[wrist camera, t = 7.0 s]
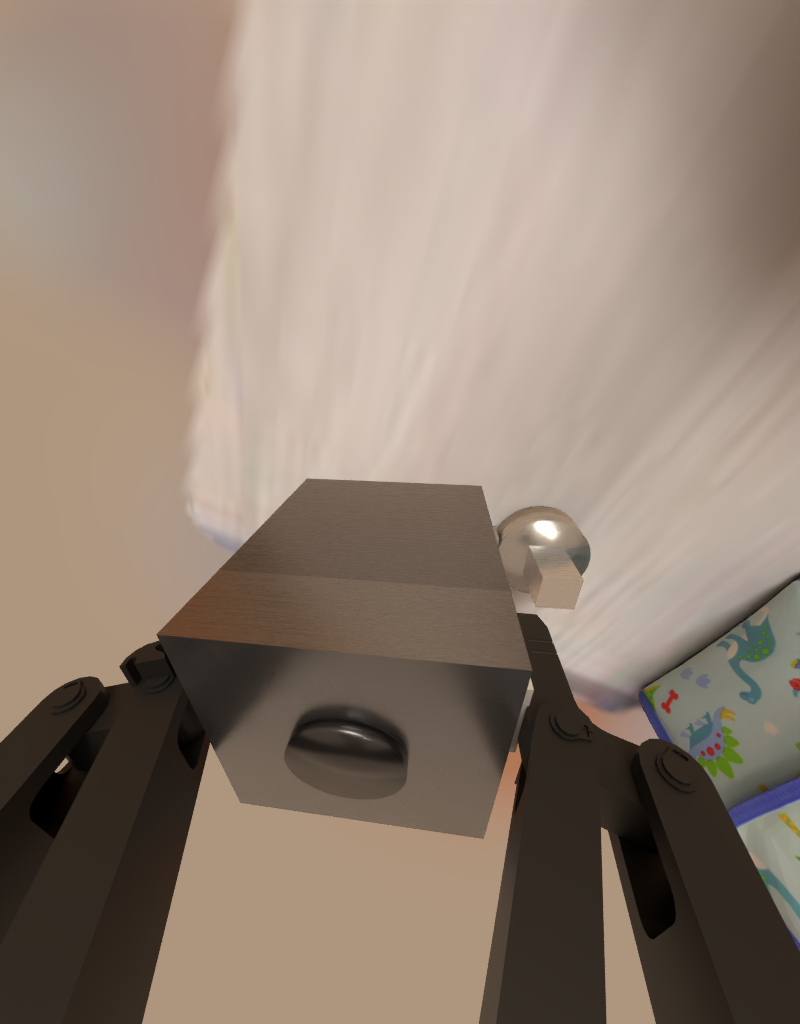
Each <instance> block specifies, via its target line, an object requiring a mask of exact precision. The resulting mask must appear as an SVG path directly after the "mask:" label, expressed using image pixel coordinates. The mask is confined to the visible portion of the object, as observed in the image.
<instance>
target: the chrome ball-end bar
mask: <svg viewBox="0 0 800 1024" xmlns="http://www.w3.org/2000/svg"><path fill="white" fill-rule="evenodd" d="M493 530H494V533H495V537H496V541H497V544H498V548H499V551H500V555H501V559H502V562H503V566H504V570H505V573H506V577H507V580H508V584H509V585H510V586H512V587H513V588H515V589H517V590H519V591H522V592H526V593H531V596H532V598H533V601H534V604H535V607H547V608H560V609H574V608H575V605H576V602H577V599H578V596H579V593H580V590H581V587H582V584H583V581H584V580H583V578H582V577H581V576H582V574H583V573H584V572H585V570H586V568H587V566H588V564H589V561H590V547H589V544H588V542H587V540H586V538H585V537H584V536H583V534H582V533H581V532H580V530H579V529H578V528H577V526H576V525H575V523H574V522H573V521H572V519H571V518H570V517H569V516H568V515H566V514H565V513H564V512H562V511H560V510H557V509H555V508H551V507H544V506H536V507H529V508H525V509H522V510H519V511H517V512H515V513H513V514H512V515H510V516H509V517H507V518H506V519H505V520H504V521H503V522H502V523H501V524H500V526H499V527H498V529H497V530H496V527H495V526H493Z"/></svg>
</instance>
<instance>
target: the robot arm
mask: <svg viewBox="0 0 800 1024" xmlns="http://www.w3.org/2000/svg"><path fill="white" fill-rule="evenodd" d="M517 617H518V620H519V624H520V627H521V631H522V635H523V638H524V642H525V646H526V649H527V653H528V656H529V660H530V664H531V667H532V674H531V678H530V681H529V684H528V688H527V691H526V695H525V698H524V702H523V705H522V708H521V712H520V715H519V719H518V722H517V726H516V729H515V732H514V736H513V739H512V743H511V746H510V750H509V752H515V751H516V747H517V744H518V743H519V748H520V754H521V759H522V762H521V765H520V768H519V771H518V774H517V777H516V780H515V784H517V787H516V793H515V799H514V805H513V812H512V818H511V824H510V831H509V837H508V843H507V850H506V856H505V862H504V869H503V875H502V881H501V888H500V894H499V900H498V907H497V913H496V919H495V926H494V932H493V939H492V944H491V951H490V958H489V963H488V970H487V976H486V983H485V989H484V996H483V1002H482V1008H481V1014H480V1020H479V1024H606V995H605V994H606V993H605V958H604V928H603V927H604V924H603V889H602V855H601V827H602V828H604V829H607V830H608V832H609V836H610V840H611V844H612V848H613V852H614V856H615V860H616V864H617V868H618V872H619V876H620V880H621V884H622V889H623V892H624V897H625V900H626V904H627V908H628V913H629V917H630V920H631V925H632V929H633V933H634V937H635V941H636V945H637V949H638V953H639V957H640V961H641V965H642V969H643V973H644V977H645V981H646V985H647V989H648V993H649V997H650V1001H651V1005H652V1009H653V1013H654V1017H655V1021H656V1024H800V951H799V949H798V947H797V945H796V943H795V942H794V940H793V938H792V936H791V934H790V932H789V930H788V928H787V926H786V924H785V922H784V920H783V918H782V916H781V914H780V912H779V910H778V908H777V906H776V905H775V903H774V901H773V899H772V897H771V895H770V893H769V891H768V889H767V887H766V885H765V883H764V881H763V879H762V877H761V875H760V873H759V871H758V869H757V867H756V866H755V864H754V862H753V860H752V858H751V856H750V854H749V852H748V850H747V848H746V846H745V844H744V842H743V840H742V838H741V836H740V834H739V832H738V830H737V829H736V827H735V825H734V823H733V821H732V819H731V817H730V815H729V813H728V811H727V809H726V807H725V805H724V803H723V801H722V799H721V797H720V795H719V793H718V791H717V790H716V788H715V786H714V784H713V782H712V780H711V779H710V777H709V776H708V774H707V773H706V771H705V770H704V768H703V767H702V766H701V765H700V764H699V763H698V762H697V761H696V760H695V759H694V758H693V757H692V756H691V755H690V754H689V753H687V752H686V751H684V750H683V749H681V748H680V747H678V746H677V745H675V744H673V743H670V742H667V741H665V740H662V739H649V740H647V741H645V742H643V743H642V744H641V745H640V746H638V745H636V744H633V743H631V742H628V741H626V740H624V739H621V738H619V737H616V736H614V735H611V734H609V733H607V732H605V731H603V730H602V729H600V728H599V727H597V726H596V725H594V724H593V723H592V722H591V721H590V719H589V717H588V716H586V715H585V714H584V713H583V712H582V711H581V710H580V709H579V708H578V706H577V704H576V702H575V700H574V698H573V695H572V692H571V689H570V687H569V684H568V681H567V679H566V676H565V673H564V671H563V668H562V665H561V663H560V660H559V657H558V655H557V652H556V649H555V646H554V644H553V643H552V638H551V636H550V633H549V630H548V628H547V626H546V625H545V624H544V623H543V621H542V620H541V619H540V618H539V617H538V616H537V615H535V614H523V613H517ZM120 669H121V670H122V672H123V673H124V675H125V677H126V678H127V680H128V682H129V683H124V684H119V685H114V686H109V687H104V686H103V684H102V683H101V682H100V680H99V679H98V678H95V677H90V676H89V677H83V678H78V679H76V680H73V681H71V682H68V683H66V684H64V685H63V686H61V687H59V688H58V689H56V690H54V691H53V692H52V693H51V694H49V695H48V696H47V697H46V698H45V699H43V700H42V701H41V702H40V703H39V705H37V706H36V707H35V708H34V709H33V710H32V712H30V713H29V714H28V715H27V717H25V719H24V720H23V721H22V722H21V723H20V724H19V725H18V726H17V727H16V728H15V729H14V730H13V731H12V732H11V733H10V734H9V735H8V736H7V737H6V738H5V739H4V740H3V741H2V742H1V743H0V1024H142V1021H143V1017H144V1012H145V1008H146V1004H147V1000H148V996H149V991H150V988H151V983H152V980H153V976H154V971H155V967H156V963H157V959H158V955H159V951H160V946H161V943H162V938H163V934H164V930H165V926H166V922H167V918H168V913H169V910H170V905H171V901H172V897H173V893H174V889H175V885H176V881H177V876H178V872H179V868H180V864H181V860H182V856H183V852H184V848H185V844H186V839H187V835H188V831H189V827H190V823H191V819H192V815H193V811H194V806H195V802H196V798H197V794H198V790H199V785H200V782H201V777H202V774H203V769H204V765H205V761H206V757H207V752H208V749H209V745H210V741H209V739H208V737H207V735H206V733H205V731H204V729H203V727H202V725H201V723H200V721H199V719H198V717H197V715H196V713H195V711H194V709H193V707H192V705H191V703H190V701H189V699H188V697H187V695H186V693H185V691H184V689H183V687H182V685H181V683H180V681H179V679H178V677H177V675H176V673H175V671H174V669H173V667H172V665H171V663H170V661H169V659H168V657H167V655H166V653H165V651H164V649H163V647H162V645H161V643H160V641H157V642H154V643H150V644H147V645H145V646H143V647H142V648H139V649H138V650H136V651H135V652H133V653H132V654H131V655H129V656H128V657H127V658H126V659H125V660H124V662H123V663H122V664H121V665H120ZM65 758H66V759H67V760H68V761H69V762H68V763H67V764H66V765H65V767H63V768H62V769H61V770H60V771H59V772H57V773H55V772H54V771H55V770H56V769H57V768H58V766H59V765H60V764H61V763H62V761H63V760H64V759H65Z"/></svg>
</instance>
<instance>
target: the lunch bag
mask: <svg viewBox="0 0 800 1024" xmlns="http://www.w3.org/2000/svg"><path fill="white" fill-rule="evenodd" d="M639 701H640V703H641V705H642V708H643V710H644V712H645V713H646V715H647V717H648V719H649V721H650V723H651V724H652V727H653V728H654V730H655V732H656V734H657V736H658V738H659V739H662V740H665V741H667V742H670V743H673V744H675V745H677V746H678V747H680V748H681V749H683V750H684V751H686V752H687V753H689V754H690V755H691V756H692V757H693V758H694V759H695V760H696V761H697V762H698V763H699V764H700V765H701V766H702V767H703V768H704V770H705V771H706V773H707V774H708V776H709V777H710V779H711V780H712V782H713V784H714V786H715V788H716V790H717V791H718V793H719V795H720V797H721V799H722V801H723V803H724V805H725V807H726V809H727V811H728V813H729V815H730V817H731V819H732V821H733V823H734V825H735V827H736V829H737V830H738V832H739V834H740V836H741V838H742V840H743V842H744V844H745V846H746V848H747V850H748V852H749V854H750V856H751V858H752V860H753V862H754V864H755V866H756V867H757V869H758V871H759V873H760V875H761V877H762V879H763V881H764V883H765V885H766V887H767V889H768V891H769V893H770V895H771V897H772V899H773V901H774V903H775V905H776V906H777V908H778V910H779V912H780V914H781V916H782V918H783V920H784V922H785V924H786V926H787V928H788V930H789V932H790V934H791V936H792V938H793V940H794V942H795V943H796V945H797V947H798V949H799V951H800V578H799V579H797V580H795V581H794V582H792V583H791V584H790V585H788V586H787V587H786V588H785V589H783V590H782V591H781V592H780V593H779V594H777V595H776V596H775V597H774V598H773V599H771V600H770V601H769V602H768V603H767V604H765V605H764V606H763V607H762V608H761V609H759V610H758V611H757V612H756V613H754V614H753V615H752V616H750V617H749V618H748V619H747V620H745V621H744V622H742V623H740V624H739V625H738V626H736V627H735V628H734V629H732V630H731V631H730V632H728V633H727V634H725V635H724V636H723V637H721V638H720V639H718V640H717V641H716V642H714V643H713V644H711V645H710V646H708V647H707V648H705V649H704V650H703V651H701V652H700V653H698V654H697V655H695V656H694V657H692V658H691V659H689V660H688V661H686V662H685V663H684V664H682V665H681V666H679V667H677V668H676V669H674V670H672V671H671V672H669V673H668V674H666V675H664V676H663V677H661V678H660V679H658V680H657V681H655V682H653V683H652V684H650V685H648V686H647V687H645V688H644V689H643V690H642V691H640V692H639Z"/></svg>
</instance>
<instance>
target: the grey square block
mask: <svg viewBox="0 0 800 1024" xmlns="http://www.w3.org/2000/svg"><path fill="white" fill-rule="evenodd" d="M157 636H158V638H159V641H160V643H161V645H162V647H163V649H164V651H165V653H166V655H167V657H168V659H169V661H170V663H171V665H172V667H173V669H174V671H175V673H176V675H177V677H178V679H179V681H180V683H181V685H182V687H183V689H184V691H185V693H186V695H187V697H188V699H189V701H190V703H191V705H192V707H193V709H194V711H195V713H196V715H197V717H198V719H199V721H200V723H201V725H202V727H203V729H204V731H205V733H206V735H207V737H208V739H209V741H210V743H211V744H212V746H213V749H214V750H215V752H216V755H217V756H218V758H219V760H220V763H221V765H222V767H223V768H224V770H225V772H226V775H227V777H228V778H229V780H230V783H231V785H232V787H233V788H234V790H235V792H236V795H237V797H238V798H239V801H240V802H241V803H246V804H252V805H259V806H266V807H273V808H279V809H286V810H293V811H300V812H306V813H313V814H320V815H327V816H333V817H340V818H347V819H354V820H361V821H367V822H374V823H380V824H387V825H394V826H401V827H407V828H414V829H421V830H428V831H434V832H442V833H448V834H455V835H461V836H469V837H475V838H482V839H483V838H484V835H485V832H486V828H487V825H488V822H489V818H490V815H491V811H492V808H493V804H494V800H495V797H496V794H497V791H498V787H499V784H500V780H501V777H502V773H503V770H504V766H505V763H506V760H507V756H508V753H509V750H510V746H511V743H512V739H513V736H514V732H515V729H516V726H517V722H518V719H519V715H520V712H521V708H522V705H523V702H524V698H525V695H526V691H527V688H528V684H529V681H530V678H531V674H532V667H531V664H530V660H529V656H528V653H527V649H526V646H525V642H524V638H523V635H522V631H521V627H520V624H519V620H518V617H517V613H516V609H515V606H514V602H513V598H512V595H511V591H510V588H509V584H508V580H507V577H506V573H505V570H504V566H503V562H502V559H501V555H500V551H499V548H498V544H497V541H496V537H495V533H494V530H493V526H492V522H491V519H490V515H489V512H488V508H487V504H486V501H485V497H484V494H483V490H482V486H469V485H446V484H422V483H399V482H375V481H352V480H329V479H306V480H305V481H304V482H303V483H302V485H301V486H300V487H299V488H298V489H297V490H296V491H295V492H294V493H293V494H292V495H291V496H290V497H289V498H288V499H287V500H286V501H285V502H284V503H283V504H282V505H281V506H280V507H279V508H278V509H277V510H276V511H275V512H274V513H273V515H272V516H271V517H270V518H269V519H268V520H267V521H266V522H265V523H264V524H263V525H262V526H261V527H260V528H259V529H258V530H257V531H256V532H255V533H254V534H253V535H252V536H251V537H250V538H249V539H248V540H247V541H246V542H245V543H244V545H243V546H242V547H241V548H240V549H239V550H238V551H237V552H236V553H235V554H234V555H233V556H232V557H231V558H230V559H229V560H228V561H227V562H226V563H225V564H224V565H223V566H222V567H221V568H220V569H219V570H218V572H217V573H216V574H215V575H214V576H213V577H212V578H211V579H210V580H209V581H208V582H207V583H206V584H205V585H204V586H203V587H202V588H201V589H200V590H199V591H198V592H197V593H196V594H195V595H194V596H193V598H191V599H190V600H189V601H188V602H187V603H186V605H185V606H184V607H183V608H182V609H181V610H180V611H179V612H178V613H177V614H176V615H175V616H174V617H173V618H172V619H171V620H170V621H169V622H168V623H167V624H166V625H165V626H164V627H163V628H162V629H161V630H160V631H159V632H158V633H157Z"/></svg>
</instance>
